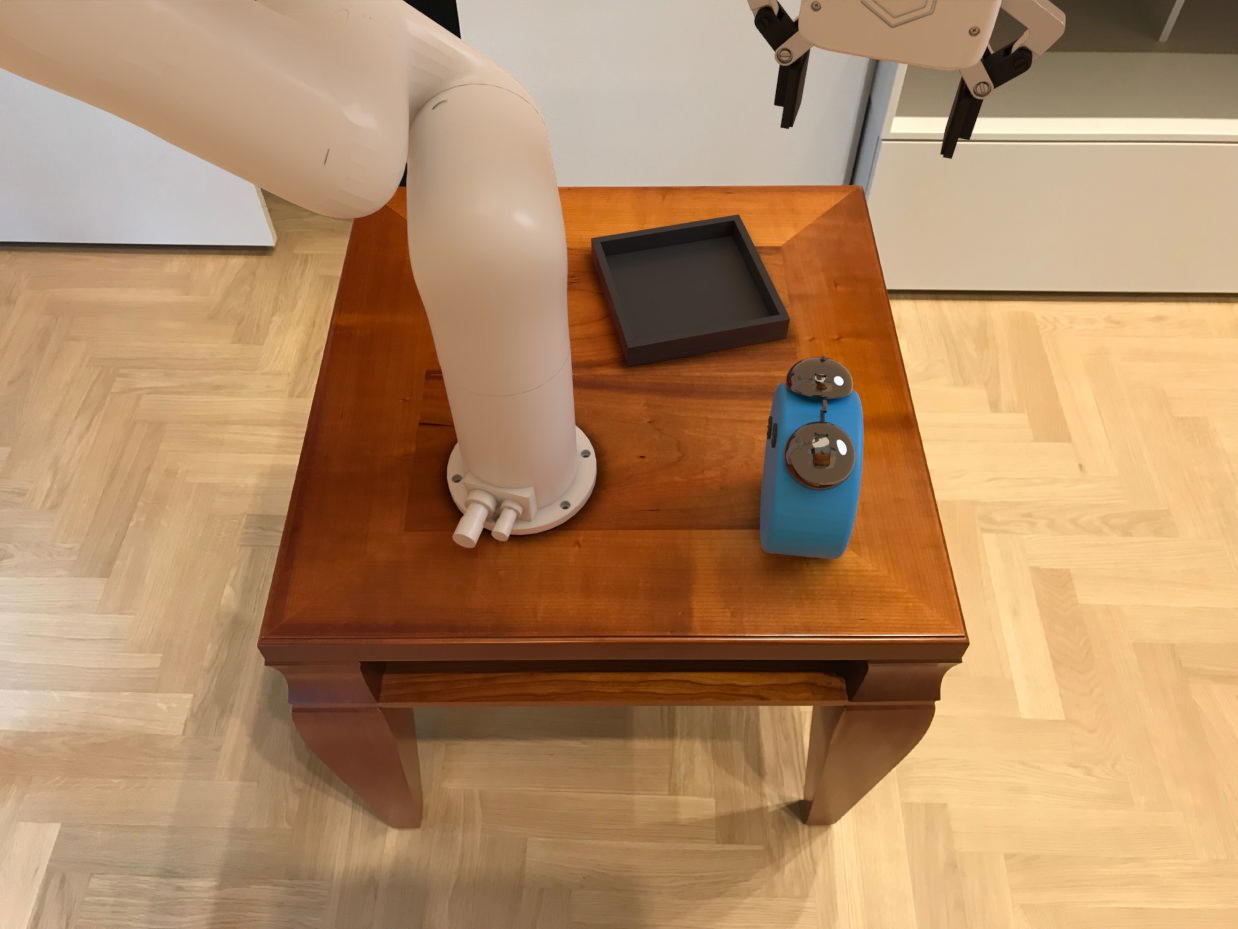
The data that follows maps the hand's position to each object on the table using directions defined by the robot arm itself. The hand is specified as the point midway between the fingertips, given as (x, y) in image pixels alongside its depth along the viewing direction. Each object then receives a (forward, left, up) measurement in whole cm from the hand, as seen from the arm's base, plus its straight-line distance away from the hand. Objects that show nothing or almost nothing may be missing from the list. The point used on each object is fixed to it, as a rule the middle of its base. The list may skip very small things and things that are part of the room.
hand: (868, 130), depth 58 cm
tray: (+15, +14, -31) cm, 37 cm away
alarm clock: (-8, -1, -31) cm, 32 cm away
